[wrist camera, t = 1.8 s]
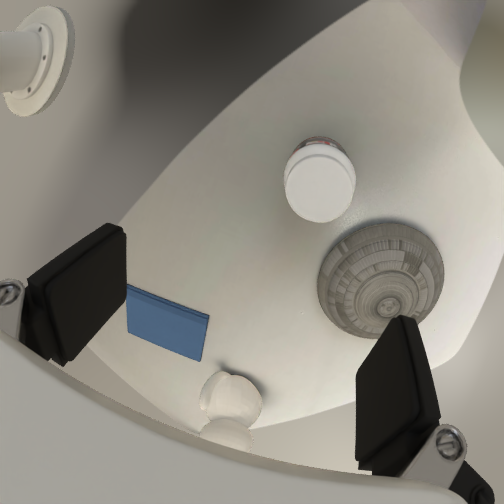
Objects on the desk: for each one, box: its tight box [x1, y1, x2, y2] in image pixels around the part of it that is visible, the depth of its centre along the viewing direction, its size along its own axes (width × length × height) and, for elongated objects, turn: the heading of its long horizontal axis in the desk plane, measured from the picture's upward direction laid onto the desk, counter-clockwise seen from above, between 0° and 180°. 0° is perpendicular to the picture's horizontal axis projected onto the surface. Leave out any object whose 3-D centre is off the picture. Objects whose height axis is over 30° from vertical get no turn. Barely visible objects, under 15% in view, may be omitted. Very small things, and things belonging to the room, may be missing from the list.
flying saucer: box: [317, 223, 444, 339], centre depth 30 cm, size 15×15×6 cm
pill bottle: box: [283, 137, 356, 223], centre depth 24 cm, size 6×6×10 cm
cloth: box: [126, 284, 209, 362], centre depth 43 cm, size 13×10×1 cm
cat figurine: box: [199, 371, 262, 453], centre depth 39 cm, size 9×12×15 cm
